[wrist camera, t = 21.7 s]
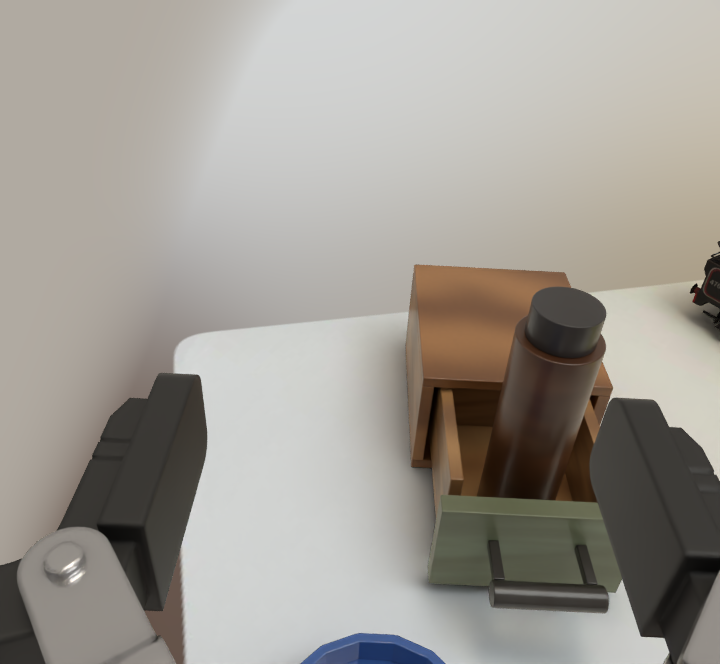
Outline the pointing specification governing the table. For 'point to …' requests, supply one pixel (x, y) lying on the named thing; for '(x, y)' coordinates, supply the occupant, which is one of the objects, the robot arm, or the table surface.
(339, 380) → the table surface
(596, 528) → the drawer
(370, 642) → the bowl
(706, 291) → the toy train
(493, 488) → the pepper mill
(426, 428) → the cabinet
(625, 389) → the table surface
